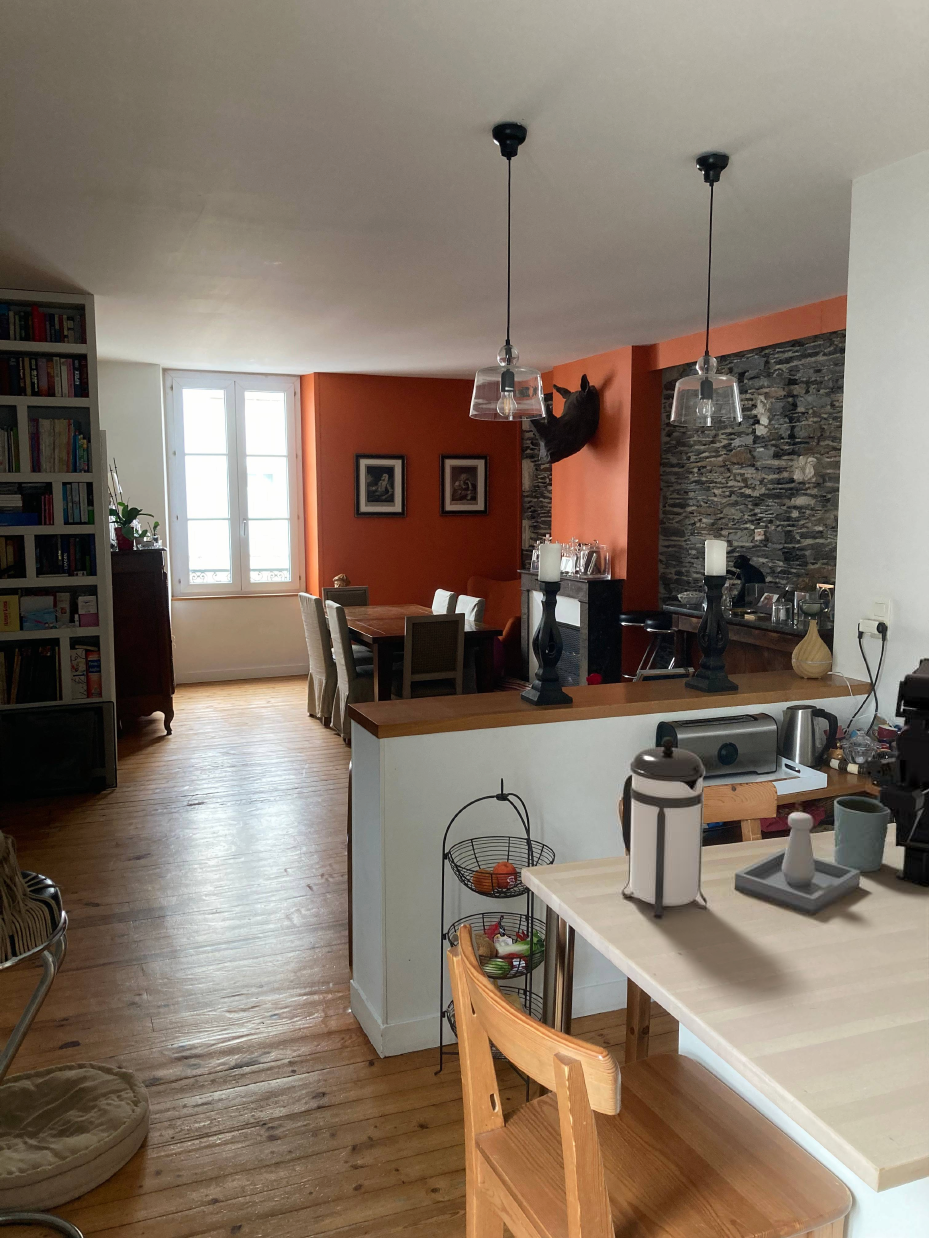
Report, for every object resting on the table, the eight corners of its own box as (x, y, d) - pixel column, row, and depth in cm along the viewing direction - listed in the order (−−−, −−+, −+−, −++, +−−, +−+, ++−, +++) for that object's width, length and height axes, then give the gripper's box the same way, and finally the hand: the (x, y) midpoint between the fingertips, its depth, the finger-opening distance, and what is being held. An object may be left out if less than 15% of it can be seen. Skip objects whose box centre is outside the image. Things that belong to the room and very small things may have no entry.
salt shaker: (817, 890, 165) (820, 820, 163) (784, 887, 166) (787, 818, 164) (811, 877, 170) (814, 810, 169) (778, 875, 171) (781, 808, 170)
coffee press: (714, 890, 167) (720, 730, 163) (698, 926, 153) (703, 752, 149) (622, 874, 174) (625, 721, 171) (598, 907, 160) (601, 741, 156)
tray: (783, 863, 180) (784, 848, 179) (859, 886, 169) (860, 870, 168) (734, 888, 168) (735, 873, 167) (812, 915, 157) (813, 899, 156)
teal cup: (825, 852, 185) (828, 795, 184) (878, 854, 184) (881, 797, 183) (839, 871, 176) (842, 811, 174) (894, 874, 174) (898, 814, 173)
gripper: (895, 730, 169) (890, 812, 171) (849, 748, 156) (845, 836, 158) (960, 742, 161) (954, 827, 162) (917, 762, 148) (911, 854, 150)
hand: (915, 835), depth 158 cm, fingers open, 9 cm apart
